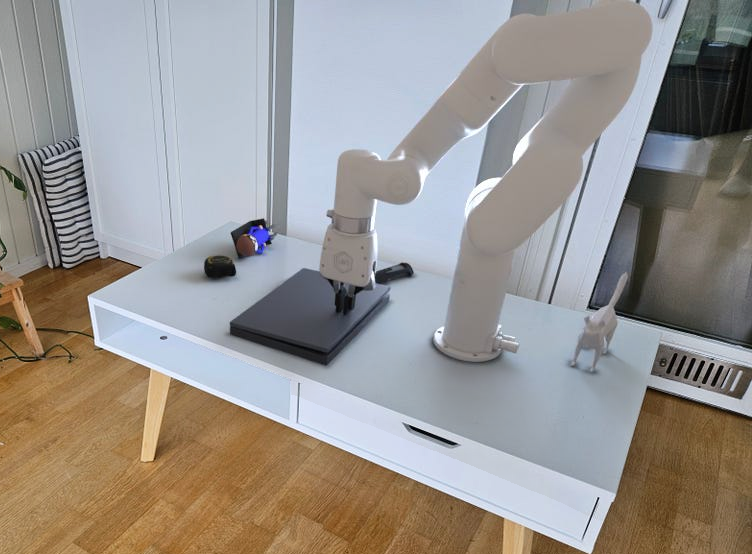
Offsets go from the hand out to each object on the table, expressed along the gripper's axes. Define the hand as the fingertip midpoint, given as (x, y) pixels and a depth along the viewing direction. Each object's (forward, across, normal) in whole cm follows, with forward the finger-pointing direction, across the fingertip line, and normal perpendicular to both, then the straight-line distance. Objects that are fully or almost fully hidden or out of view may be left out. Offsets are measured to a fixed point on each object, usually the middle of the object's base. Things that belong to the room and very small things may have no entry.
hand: (344, 310), depth 125 cm
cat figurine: (+3, +44, +15) cm, 47 cm away
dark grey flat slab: (+4, -7, 0) cm, 8 cm away
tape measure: (+4, -34, +6) cm, 34 cm away
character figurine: (+4, -35, +22) cm, 41 cm away
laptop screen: (+1, -7, 0) cm, 7 cm away
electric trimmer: (+4, -1, +25) cm, 25 cm away
